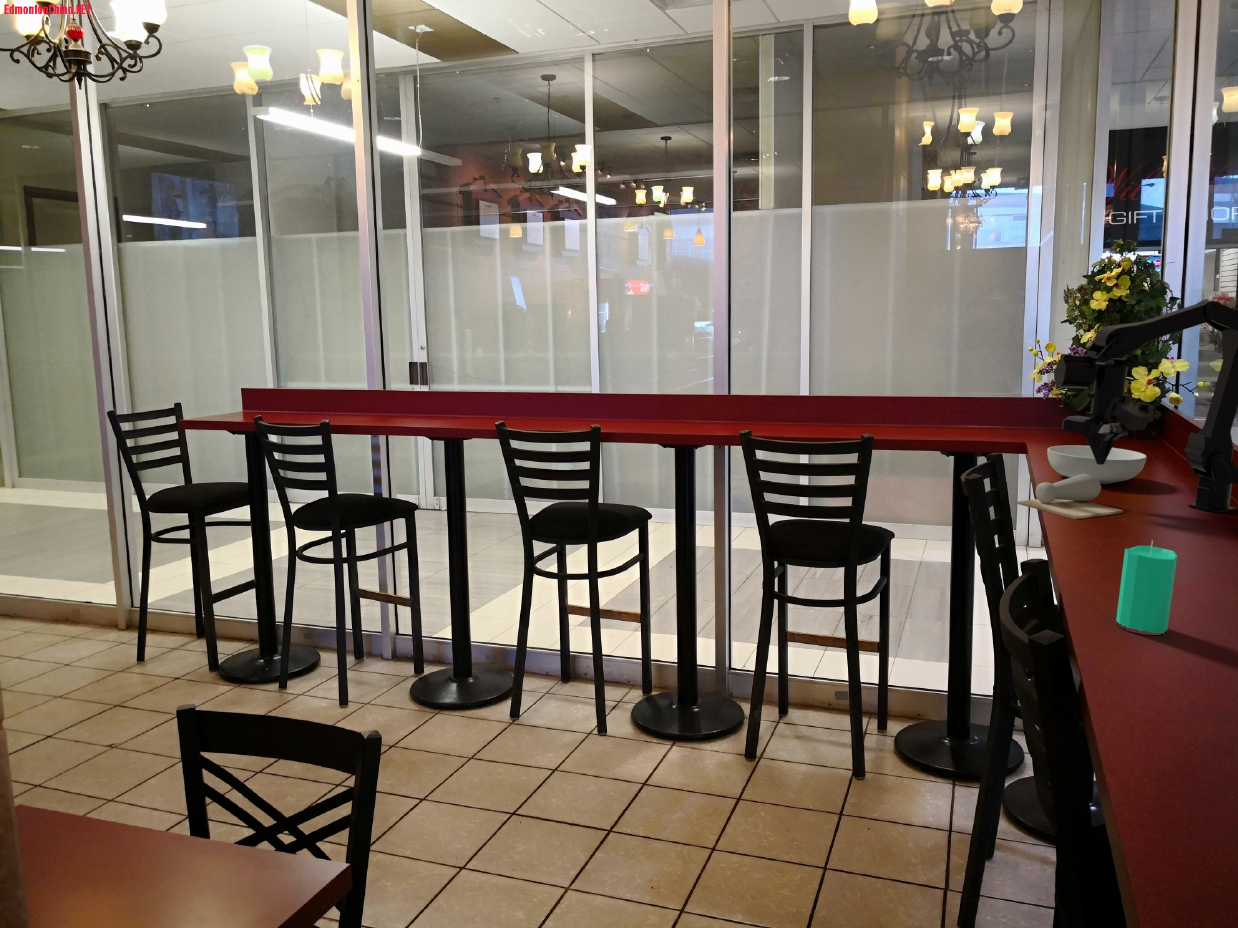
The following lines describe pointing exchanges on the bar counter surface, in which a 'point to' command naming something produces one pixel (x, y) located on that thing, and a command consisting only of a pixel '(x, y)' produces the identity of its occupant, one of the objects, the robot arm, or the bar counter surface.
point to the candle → (1146, 588)
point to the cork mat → (1071, 508)
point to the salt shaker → (1069, 489)
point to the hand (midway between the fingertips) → (1100, 464)
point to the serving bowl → (1083, 462)
